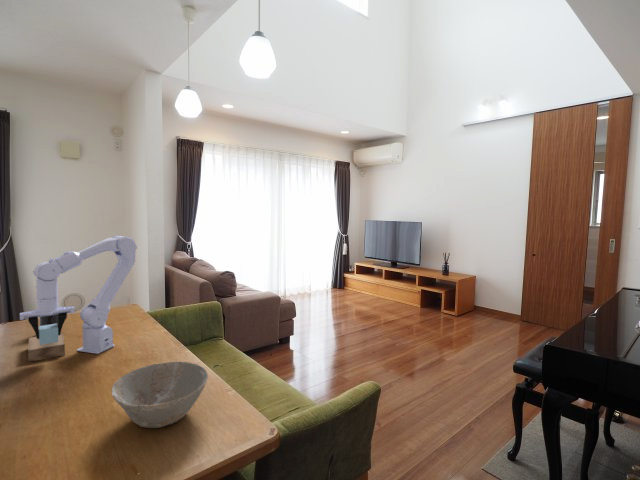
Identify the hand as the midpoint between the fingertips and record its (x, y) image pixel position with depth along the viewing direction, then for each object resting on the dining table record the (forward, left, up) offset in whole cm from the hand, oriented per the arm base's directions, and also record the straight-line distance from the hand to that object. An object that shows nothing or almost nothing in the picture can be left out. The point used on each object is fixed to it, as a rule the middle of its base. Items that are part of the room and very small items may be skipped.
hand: (48, 336), depth 118 cm
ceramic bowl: (-58, +19, -9) cm, 62 cm away
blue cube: (0, 0, -2) cm, 2 cm away
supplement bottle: (+24, -20, -9) cm, 32 cm away
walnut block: (+7, -5, -8) cm, 12 cm away
